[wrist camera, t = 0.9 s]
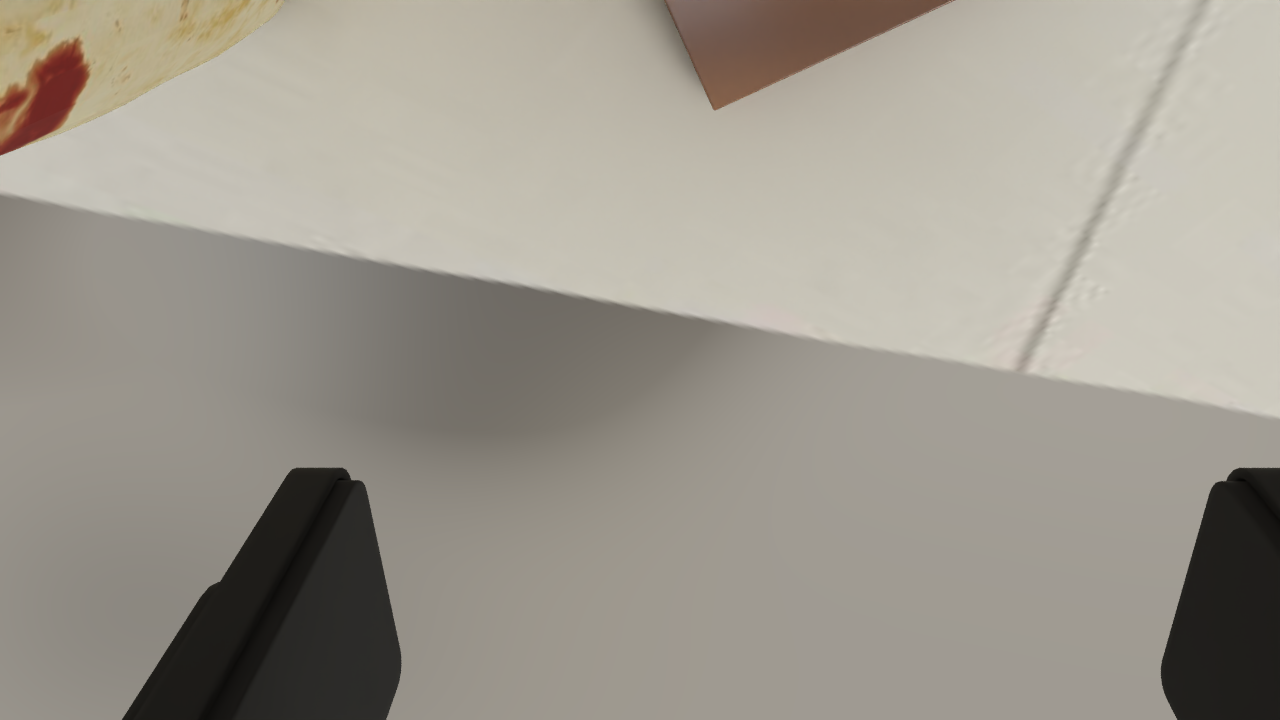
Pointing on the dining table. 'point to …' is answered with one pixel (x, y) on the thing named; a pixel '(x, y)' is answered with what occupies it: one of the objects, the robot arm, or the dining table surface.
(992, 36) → the dining table surface
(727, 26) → the cutting board
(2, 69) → the food model
